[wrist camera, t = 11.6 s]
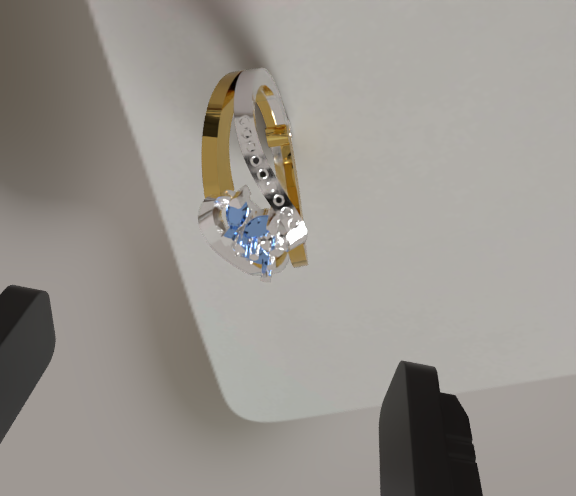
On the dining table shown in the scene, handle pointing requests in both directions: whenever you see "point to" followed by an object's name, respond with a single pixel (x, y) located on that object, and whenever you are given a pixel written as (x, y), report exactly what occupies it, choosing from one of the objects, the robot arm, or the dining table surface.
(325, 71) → the dining table surface
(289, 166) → the ring
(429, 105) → the dining table surface
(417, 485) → the robot arm
